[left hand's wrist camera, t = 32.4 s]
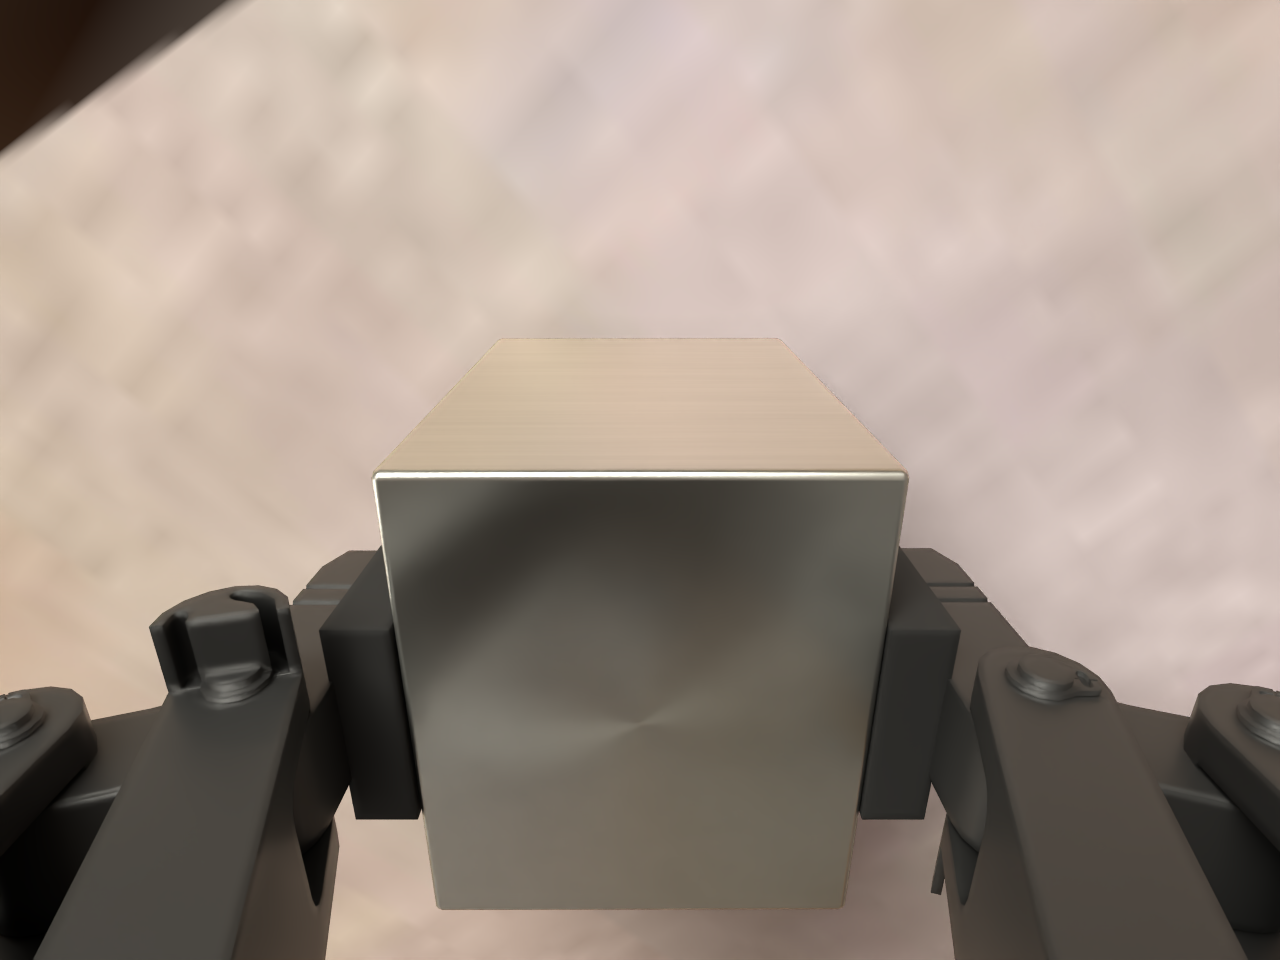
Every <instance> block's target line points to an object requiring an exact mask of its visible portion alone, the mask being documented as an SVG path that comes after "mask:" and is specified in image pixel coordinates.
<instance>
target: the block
mask: <svg viewBox="0 0 1280 960" xmlns="http://www.w3.org/2000/svg"><path fill="white" fill-rule="evenodd" d="M908 482H909V475H908V472H907V470H906V469H905V468H904V467H903V466H902V465H901V464H900V463H899V462H898V461H897V460H896V459H895V458H894V457H893V456H892V455H891V454H890V452H889V451H888V450H887V449H886V448H885V447H884V446H883V445H882V444H881V443H880V442H879V441H878V440H877V439H876V438H875V437H874V436H873V435H872V434H871V433H870V432H869V431H868V430H867V429H866V428H865V427H864V426H863V425H862V424H861V422H860V421H859V420H858V419H857V418H856V417H855V416H854V415H853V414H852V413H851V412H850V411H849V410H848V409H847V408H846V407H845V406H844V405H843V404H842V403H841V402H840V401H839V400H838V399H837V398H836V397H835V396H834V395H833V394H832V392H831V391H830V390H829V389H828V388H827V387H826V386H825V385H824V384H823V383H822V382H821V381H820V380H819V379H818V378H817V377H816V376H815V375H814V374H813V373H812V372H811V371H810V370H809V369H808V368H807V367H806V366H805V365H804V363H803V362H802V361H801V360H800V359H799V358H798V357H797V356H796V355H795V354H794V353H793V352H792V351H791V350H790V349H789V348H788V347H787V346H786V345H785V344H784V343H783V342H782V341H781V340H780V339H777V338H660V339H500V340H498V341H497V342H496V343H495V344H494V345H493V346H492V347H491V348H490V350H489V351H488V352H487V353H486V354H485V355H484V356H483V357H482V358H481V359H480V360H479V361H478V362H477V363H476V364H475V365H474V366H473V367H472V368H471V370H470V371H469V372H468V373H467V374H466V375H465V376H464V377H463V378H462V379H461V380H460V381H459V382H458V383H457V384H456V385H455V386H454V387H453V388H452V389H451V391H450V392H449V393H448V394H447V395H446V396H445V397H444V398H443V399H442V400H441V401H440V402H439V403H438V404H437V405H436V406H435V407H434V408H433V409H432V411H431V412H430V413H429V414H428V415H427V416H426V417H425V418H424V419H423V420H422V421H421V422H420V423H419V424H418V425H417V426H416V427H415V428H414V429H413V431H412V432H411V433H410V434H409V435H408V436H407V437H406V438H405V439H404V440H403V441H402V442H401V443H400V444H399V445H398V446H397V447H396V448H395V449H394V451H393V452H392V453H391V454H390V455H389V456H388V457H387V458H386V459H385V460H384V461H383V462H382V463H381V464H380V465H379V466H378V467H377V468H376V469H375V470H374V472H373V475H372V483H373V490H374V496H375V503H376V510H377V516H378V523H379V529H380V536H381V543H382V549H383V556H384V562H385V569H386V576H387V582H388V589H389V595H390V602H391V609H392V615H393V622H394V628H395V635H396V642H397V648H398V655H399V661H400V668H401V675H402V681H403V688H404V694H405V701H406V708H407V714H408V721H409V727H410V734H411V741H412V747H413V754H414V760H415V767H416V774H417V780H418V787H419V793H420V800H421V807H422V813H423V820H424V826H425V833H426V840H427V846H428V853H429V859H430V866H431V873H432V879H433V886H434V892H435V899H436V905H437V907H438V908H439V909H442V910H609V909H840V908H843V906H844V905H845V899H846V892H847V885H848V879H849V872H850V865H851V859H852V852H853V846H854V839H855V832H856V826H857V819H858V813H859V806H860V799H861V793H862V786H863V779H864V773H865V766H866V760H867V753H868V746H869V740H870V733H871V727H872V720H873V713H874V707H875V700H876V693H877V687H878V680H879V674H880V667H881V660H882V654H883V647H884V641H885V634H886V627H887V621H888V614H889V607H890V601H891V594H892V588H893V581H894V574H895V568H896V561H897V555H898V548H899V541H900V535H901V528H902V521H903V515H904V508H905V502H906V495H907V488H908Z"/></svg>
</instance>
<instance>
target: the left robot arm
mask: <svg viewBox="0 0 1280 960" xmlns="http://www.w3.org/2000/svg"><path fill="white" fill-rule="evenodd" d="M149 629H150V632H151V636H152V639H153V642H154V646H155V649H156V652H157V656H158V659H159V662H160V666H161V669H162V672H163V676H164V679H165V682H166V686H167V689H168V692H169V693H168V695H167V697H166V699H165V701H164V703H163V705H162V706H159V707H155V708H151V709H146V710H141V711H136V712H131V713H126V714H121V715H116V716H111V717H106V718H101V719H96V720H91V719H90V717H89V714H88V711H87V708H86V705H85V703H84V700H83V697H82V696H80V695H79V694H78V693H76V692H75V691H73V690H72V689H67V688H59V687H44V688H36V689H28V690H20V691H15V692H11V693H9V694H8V695H5V694H3V695H0V960H325V956H326V948H327V940H328V932H329V924H330V916H331V908H332V900H333V893H334V885H335V877H336V869H337V861H338V853H339V840H338V833H337V828H336V823H335V818H334V814H335V812H336V810H337V808H338V806H339V804H340V802H341V800H342V798H343V796H344V794H345V792H346V790H347V788H348V786H349V787H350V792H351V797H352V802H353V807H354V812H355V817H356V819H418V817H419V815H420V812H421V809H422V807H421V800H420V793H419V787H418V780H417V774H416V767H415V760H414V754H413V747H412V741H411V734H410V727H409V721H408V714H407V708H406V701H405V694H404V688H403V681H402V675H401V668H400V661H399V655H398V648H397V642H396V635H395V628H394V622H393V615H392V609H391V602H390V595H389V589H388V582H387V576H386V569H385V562H384V556H383V549H382V545H381V546H380V548H379V549H378V550H377V551H348V552H346V553H345V554H343V555H341V556H339V557H338V558H336V559H334V560H333V561H331V562H329V563H328V564H326V565H324V566H323V567H322V568H321V569H320V570H319V571H318V572H317V574H316V575H315V576H314V577H313V578H312V579H311V581H310V582H309V583H308V584H307V585H306V589H303V590H302V591H301V592H300V593H299V595H298V596H297V597H296V598H295V599H294V601H293V605H289V601H288V597H287V596H286V595H284V594H283V593H282V592H280V591H279V590H278V589H274V588H269V587H264V586H259V585H257V586H234V587H230V588H225V589H220V590H215V591H210V592H207V593H204V594H201V595H199V596H196V597H193V598H191V599H188V600H185V601H183V602H181V603H179V604H178V605H176V606H174V607H172V608H171V609H169V610H167V611H165V612H164V613H162V614H161V615H160V616H159V617H158V618H157V619H156V620H155V621H154V622H153V623H152V624H151V625H150V626H149ZM931 782H932V784H933V786H934V788H935V790H936V792H937V794H938V796H939V798H940V800H941V802H942V804H943V806H944V808H945V810H946V812H947V814H946V818H945V823H944V828H943V833H942V837H941V842H940V847H939V852H938V856H937V861H936V866H935V870H934V875H933V881H932V888H931V893H935V894H939V895H941V892H942V887H943V883H944V879H945V883H946V891H947V899H948V906H949V914H950V922H951V930H952V938H953V946H954V954H955V960H1280V692H1279V691H1276V692H1274V691H1273V690H1272V689H1268V688H1264V687H1259V686H1248V685H1240V684H1232V683H1228V684H1220V685H1211V686H1209V687H1207V688H1206V689H1204V690H1203V691H1202V692H1200V693H1199V694H1198V697H1197V700H1196V702H1195V705H1194V708H1193V711H1192V714H1191V716H1190V717H1186V716H1181V715H1176V714H1171V713H1165V712H1160V711H1155V710H1150V709H1145V708H1140V707H1135V706H1130V705H1126V704H1122V703H1118V702H1117V701H1116V699H1115V697H1114V695H1113V694H1112V692H1111V690H1110V689H1109V688H1108V687H1107V686H1106V684H1105V683H1104V682H1103V681H1102V680H1101V678H1100V677H1099V676H1097V675H1096V674H1094V673H1093V672H1092V671H1090V670H1089V669H1087V668H1086V667H1084V666H1083V665H1081V664H1080V663H1078V662H1075V661H1073V660H1071V659H1068V658H1066V657H1064V656H1061V655H1059V654H1057V653H1054V652H1050V651H1045V650H1041V649H1037V648H1033V647H1029V646H1028V645H1027V644H1026V643H1025V642H1024V640H1023V639H1022V638H1021V637H1020V636H1019V635H1018V633H1017V632H1016V631H1015V630H1014V629H1013V628H1012V626H1011V625H1010V624H1009V623H1008V622H1007V621H1006V619H1005V618H1004V617H1003V616H1002V615H1001V614H1000V612H999V611H998V610H997V609H996V608H995V607H994V605H993V604H992V603H991V602H988V601H987V597H986V596H985V595H984V594H983V593H982V592H981V590H980V589H979V588H978V587H974V582H973V581H972V580H971V579H970V578H969V576H968V575H967V574H966V573H965V572H964V571H963V569H962V568H961V567H960V566H959V565H958V564H957V563H955V562H953V561H952V560H950V559H948V558H947V557H945V556H943V555H942V554H940V553H938V552H936V551H935V550H933V549H931V548H900V546H899V548H898V555H897V561H896V568H895V574H894V581H893V588H892V594H891V601H890V607H889V614H888V621H887V627H886V634H885V641H884V647H883V654H882V660H881V667H880V674H879V680H878V687H877V693H876V700H875V707H874V713H873V720H872V727H871V733H870V740H869V746H868V753H867V760H866V766H865V773H864V779H863V786H862V793H861V799H860V806H859V812H860V815H861V818H862V819H924V817H925V812H926V807H927V802H928V797H929V792H930V787H931Z"/></svg>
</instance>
